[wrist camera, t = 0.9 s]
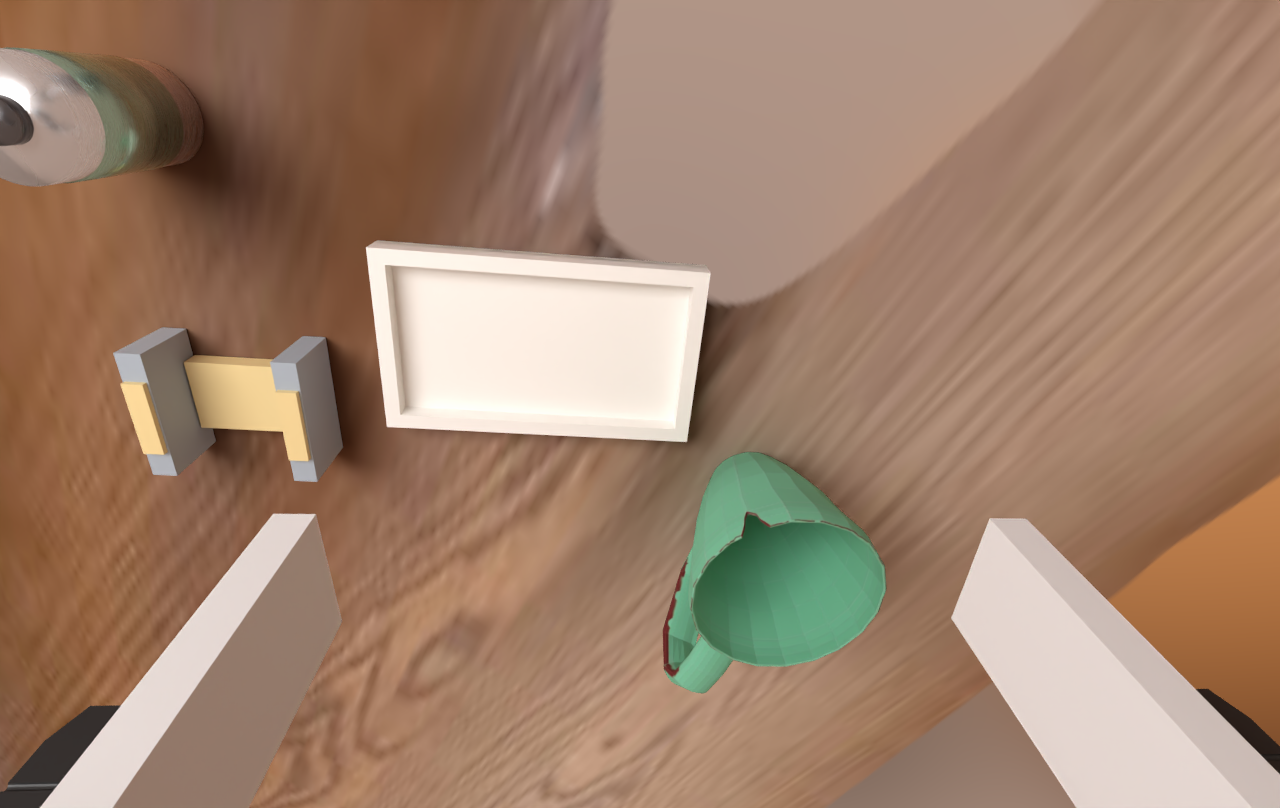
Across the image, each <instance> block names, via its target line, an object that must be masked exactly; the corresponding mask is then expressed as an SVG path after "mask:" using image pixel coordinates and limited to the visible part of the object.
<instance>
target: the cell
mask: <svg viewBox="0 0 1280 808" xmlns="http://www.w3.org/2000/svg"><path fill="white" fill-rule="evenodd" d="M203 135H204V124H203V118H202V114H201V111H200V109H199V106H198V104H197V102H196V100H195V98H194V97H193V95H192V93H191V92H190V91H189V89H188V88H187V87H186V86H185V84H184V83H183V82H182V81H181V80H180V79H179V78H177V77H176V76H175V75H174V74H173V73H171V72H170V71H168V70H167V69H165V68H164V67H162V66H160V65H158V64H155V63H153V62H150V61H146V60H141V59H132V58H121V57H117V56H111V55H98V54H86V53H74V52H61V51H49V50H36V49H24V48H0V178H2V179H5V180H7V181H10V182H13V183H16V184H20V185H26V186H46V185H53V184H59V183H74V182H80V181H86V180H93V179H99V178H105V177H111V176H117V175H123V174H129V173H135V172H141V171H147V170H154V169H158V168H161V167H164V166H171V165H177V164H180V163H184V162H186V161H188V160H189V159H191V158H192V157H193V156H194V155H195V154H196V153H197V151H198V150H199V148H200V146H201V144H202V140H203Z"/></svg>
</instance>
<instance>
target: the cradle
mask: <svg viewBox="0 0 1280 808" xmlns="http://www.w3.org/2000/svg"><path fill="white" fill-rule="evenodd" d="M113 354H114V357H115V360H116V363H117V366H118V369H119V372H120V375H121V378H122V381H123V383H121V387H122V390H123V393H124V396H125V399H126V402H127V405H128V408H129V411H130V414H131V417H132V420H133V423H134V426H135V429H136V432H137V435H138V438H139V441H140V444H141V447H142V450H143V453H144V454H147V457H148V460H149V463H150V466H151V469H152V472H153V475H172V476H178V475H179V474H180V473H181V472H182V471H183V470H184V469H185V468H187V467H188V466H189V465H190V464H191V463H192V462H193V461H194V460H196V459H197V458H198V457H199V456H200V455H201V454H202V453H204V452H205V451H206V450H207V449H208V448H209V447H210V446H211V445H213V444H214V443H215V442H216V439H215V436H214V432H213V428H221V429H241V430H261V431H282V432H283V434H284V439H285V444H286V449H287V454H288V458H289V460H290V462H291V467H292V472H293V476H294V481H313V482H317V481H318V480H319V479H320V477H321V476H322V475H323V473H324V472H325V471H326V469H327V468H328V467H329V465H330V464H331V463H332V461H333V460H334V459H335V457H336V456H337V455H338V453H339V452H340V451H341V449H342V448H343V444H342V438H341V431H340V425H339V419H338V412H337V406H336V400H335V393H334V387H333V381H332V374H331V368H330V361H329V355H328V349H327V342H326V338H325V337H309V336H302V337H301V338H300V339H299V340H297V341H296V342H295V343H294V344H292V345H291V346H290V347H288V348H287V349H286V350H285V351H283V352H282V353H281V354H280V355H278V356H277V357H276V358H275V359H256V358H239V357H222V356H205V355H194V356H193V353H192V349H191V345H190V342H189V338H188V334H187V330H186V329H180V328H164V327H162V328H160V329H158V330H156V331H154V332H153V333H151V334H149V335H147V336H145V337H143V338H141V339H139V340H137V341H135V342H133V343H131V344H130V345H128V346H126V347H124V348H122V349H120V350H118V351H116V352H114V353H113Z"/></svg>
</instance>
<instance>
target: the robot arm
mask: <svg viewBox="0 0 1280 808" xmlns="http://www.w3.org/2000/svg"><path fill="white" fill-rule="evenodd" d="M951 619H952V620H953V622H954V623H955V625H956V626H957V628H958V629H959V631H960V632H961V634H962V635H963V637H964V638H965V640H966V641H967V643H968V644H969V646H970V647H971V649H972V650H973V652H974V653H975V655H976V656H977V658H978V659H979V661H980V663H981V664H982V666H983V667H984V669H985V670H986V672H987V673H988V675H989V676H990V678H991V679H992V681H993V682H994V684H995V685H996V687H997V688H998V690H999V691H1000V693H1001V694H1002V696H1003V697H1004V699H1005V700H1006V702H1007V703H1008V705H1009V706H1010V708H1011V709H1012V711H1013V713H1014V714H1015V715H1016V717H1017V719H1018V720H1019V721H1020V723H1021V725H1022V726H1023V728H1024V729H1025V731H1026V732H1027V734H1028V735H1029V737H1030V738H1031V740H1032V741H1033V743H1034V744H1035V746H1036V747H1037V749H1038V750H1039V752H1040V753H1041V755H1042V756H1043V758H1044V759H1045V761H1046V762H1047V764H1048V766H1049V767H1050V769H1051V770H1052V771H1053V773H1054V775H1055V776H1056V778H1057V779H1058V781H1059V782H1060V783H1061V785H1062V787H1063V788H1064V790H1065V791H1066V793H1067V794H1068V796H1069V797H1070V799H1071V800H1072V802H1073V803H1074V805H1075V806H1076V808H1280V746H1279V745H1278V744H1276V743H1275V742H1274V741H1273V740H1272V739H1271V738H1270V737H1269V736H1268V735H1267V734H1266V733H1265V732H1264V731H1263V730H1262V729H1261V728H1260V727H1259V726H1258V725H1257V724H1256V723H1255V722H1254V721H1253V720H1252V719H1250V718H1249V717H1248V716H1246V715H1245V714H1243V713H1242V712H1240V711H1239V710H1238V709H1236V708H1235V707H1233V706H1232V705H1230V704H1229V703H1227V702H1226V701H1224V700H1223V699H1222V698H1220V697H1219V696H1217V695H1216V694H1214V693H1213V692H1211V691H1210V690H1209V689H1195V688H1194V687H1193V686H1192V685H1191V684H1190V683H1189V682H1188V681H1187V680H1186V679H1185V678H1184V677H1183V676H1182V675H1181V674H1180V673H1179V672H1178V671H1177V670H1176V669H1175V668H1174V667H1173V666H1172V665H1171V664H1170V663H1169V662H1168V661H1167V660H1166V659H1164V657H1163V656H1162V655H1161V654H1160V653H1159V652H1158V651H1157V650H1156V649H1155V648H1154V647H1153V646H1152V645H1151V644H1150V643H1149V642H1148V641H1147V640H1146V639H1145V638H1144V637H1143V636H1142V635H1141V634H1140V633H1139V632H1138V631H1137V630H1136V629H1135V628H1134V627H1133V626H1132V625H1131V624H1130V623H1129V622H1128V621H1127V620H1126V619H1125V618H1124V617H1123V616H1122V615H1121V614H1120V613H1119V612H1118V611H1117V610H1116V609H1115V608H1114V607H1113V606H1112V605H1111V604H1110V603H1109V602H1108V601H1107V600H1106V599H1105V598H1104V597H1103V596H1102V595H1101V594H1100V593H1099V592H1098V591H1097V590H1096V589H1095V588H1094V587H1093V586H1092V585H1091V584H1090V582H1089V581H1088V580H1087V579H1086V578H1085V577H1084V576H1083V575H1082V574H1081V573H1080V572H1079V571H1078V570H1077V569H1076V568H1075V567H1074V566H1073V565H1072V564H1071V563H1070V562H1069V561H1068V560H1067V559H1066V558H1065V557H1064V556H1063V555H1062V554H1061V553H1060V552H1059V551H1058V550H1057V549H1056V548H1055V547H1054V546H1053V545H1052V544H1051V543H1050V542H1049V541H1048V540H1047V539H1046V538H1045V537H1044V536H1043V535H1042V534H1041V533H1040V532H1039V531H1038V530H1037V529H1036V528H1035V527H1034V526H1033V525H1032V524H1031V523H1030V522H1029V521H1028V520H1027V519H1004V518H990V519H989V522H988V524H987V527H986V529H985V532H984V535H983V537H982V540H981V542H980V545H979V548H978V550H977V553H976V555H975V558H974V561H973V563H972V566H971V568H970V571H969V574H968V576H967V579H966V581H965V584H964V587H963V589H962V592H961V594H960V597H959V600H958V602H957V605H956V607H955V610H954V613H953V615H952V618H951ZM341 623H342V619H341V615H340V611H339V607H338V603H337V599H336V594H335V590H334V586H333V582H332V578H331V574H330V570H329V566H328V562H327V558H326V554H325V550H324V545H323V541H322V537H321V533H320V529H319V525H318V521H317V517H316V514H273V515H272V516H271V518H270V519H269V520H268V521H267V523H266V524H265V525H264V526H263V528H262V529H261V530H260V531H259V533H258V534H257V535H256V536H255V538H254V539H253V540H252V541H251V543H250V544H249V545H248V546H247V548H246V549H245V550H244V551H243V553H242V554H241V555H240V557H239V558H238V559H237V560H236V562H235V563H234V564H233V565H232V567H231V568H230V569H229V570H228V572H227V573H226V574H225V575H224V577H223V578H222V579H221V580H220V582H219V583H218V584H217V585H216V587H215V588H214V589H213V590H212V592H211V593H210V594H209V596H208V597H207V598H206V599H205V601H204V602H203V603H202V604H201V606H200V607H199V608H198V609H197V611H196V612H195V613H194V614H193V616H192V617H191V618H190V619H189V621H188V622H187V623H186V624H185V626H184V627H183V628H182V630H181V631H180V632H179V633H178V635H177V636H176V637H175V638H174V640H173V641H172V642H171V643H170V645H169V646H168V647H167V648H166V650H165V651H164V652H163V653H162V655H161V656H160V657H159V658H158V660H157V661H156V662H155V663H154V665H153V666H152V667H151V669H150V670H149V671H148V672H147V674H146V675H145V676H144V677H143V679H142V680H141V681H140V682H139V684H138V685H137V686H136V687H135V689H134V690H133V691H132V692H131V694H130V695H129V696H128V697H127V699H126V700H125V701H124V702H123V704H122V705H121V706H90V707H88V708H87V709H86V710H84V711H83V712H82V713H81V714H79V715H78V716H77V717H75V718H74V719H73V720H71V721H70V722H69V723H67V724H66V725H65V726H64V727H62V728H61V729H60V730H58V731H57V732H56V733H54V734H53V735H52V736H51V737H49V738H48V739H47V740H45V741H44V742H43V743H42V745H41V746H40V747H39V748H38V749H37V750H36V751H35V753H34V754H33V755H32V756H31V757H30V758H29V759H28V761H27V762H26V763H25V764H24V765H23V766H22V768H21V769H20V770H19V771H18V772H17V773H16V774H15V776H14V777H13V778H12V779H11V780H10V781H9V782H8V788H7V789H6V790H5V791H4V792H0V808H249V806H250V804H251V802H252V800H253V798H254V796H255V794H256V792H257V790H258V788H259V786H260V784H261V782H262V780H263V778H264V776H265V774H266V772H267V770H268V768H269V766H270V764H271V762H272V760H273V758H274V756H275V754H276V752H277V750H278V748H279V746H280V744H281V742H282V740H283V738H284V736H285V734H286V732H287V730H288V728H289V726H290V724H291V722H292V720H293V718H294V716H295V714H296V712H297V710H298V708H299V706H300V704H301V702H302V700H303V698H304V696H305V694H306V692H307V690H308V688H309V686H310V684H311V682H312V680H313V678H314V676H315V674H316V672H317V670H318V668H319V666H320V664H321V662H322V660H323V658H324V656H325V654H326V652H327V650H328V648H329V647H330V645H331V643H332V641H333V639H334V637H335V635H336V633H337V631H338V629H339V627H340V625H341Z"/></svg>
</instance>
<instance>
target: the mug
mask: <svg viewBox="0 0 1280 808" xmlns="http://www.w3.org/2000/svg"><path fill="white" fill-rule="evenodd" d="M885 592H886V575H885V565H884V564H883V562H882V560H881V558H880V557H879V555H878V553H877V551H876V549H875V548H874V546H873V544H872V543H871V541H870V539H869V537H868V536H867V535H866V534H865V532H864V531H863V530H862V529H861V528H860V527H859V526H857V525H856V524H855V523H854V522H853V521H852V520H851V519H849V518H848V517H847V516H846V515H845V514H844V513H842V512H841V511H840V510H839V509H838V508H837V507H836V506H835V505H834V504H833V503H832V502H831V501H830V499H829V498H828V497H827V496H826V495H825V494H824V493H823V492H822V491H821V490H819V489H818V488H817V487H815V486H814V485H813V484H812V483H810V482H809V481H808V480H806V479H805V478H804V477H802V476H801V475H799V474H798V473H797V472H795V471H794V470H793V469H791V468H790V467H788V466H787V465H785V464H783V463H781V462H779V461H777V460H776V459H774V458H772V457H770V456H767V455H764V454H762V453H759V452H745V453H741V454H737V455H734V456H731V457H730V458H728V459H726V460H724V461H723V462H722V463H721V464H720V465H719V466H718V467H717V468H716V469H715V471H714V473H713V475H712V477H711V479H710V481H709V484H708V486H707V488H706V491H705V493H704V496H703V498H702V502H701V506H700V510H699V514H698V518H697V523H696V529H695V536H694V544H693V547H692V549H691V551H690V553H689V555H688V557H687V559H686V561H685V563H684V565H683V567H682V569H681V572H680V575H679V578H678V582H677V585H676V588H675V592H674V595H673V598H672V602H671V605H670V608H669V612H668V615H667V618H666V621H665V625H664V628H663V652H664V671H665V673H666V675H667V676H668V678H669V679H670V680H671V682H673V683H675V684H676V685H679V686H681V687H683V688H685V689H687V690H690V691H692V692H696V693H706V692H707V691H708V690H709V689H710V688H711V687H712V686H713V685H714V684H715V683H716V682H717V680H718V679H719V678H720V677H721V676H722V675H723V674H724V672H725V671H726V670H727V668H728V667H729V665H730V664H731V662H732V661H733V660H735V661H739V662H743V663H747V664H751V665H755V666H783V667H786V666H791V665H796V664H800V663H805V662H810V661H814V660H817V659H819V658H821V657H823V656H826V655H828V654H830V653H832V652H835V651H837V650H839V649H841V648H842V647H844V646H845V645H846V644H848V643H849V642H850V641H852V640H853V639H854V638H856V637H857V636H858V635H860V634H861V633H862V632H863V631H864V630H865V629H866V627H867V626H868V625H869V623H870V622H871V621H872V619H873V618H874V617H875V616H876V614H877V613H878V612H879V609H880V606H881V603H882V600H883V598H884V595H885ZM698 633H699V634H700V635H701V637H700V639H699V640H698V642H697V643H696V641H697V637H698Z"/></svg>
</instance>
